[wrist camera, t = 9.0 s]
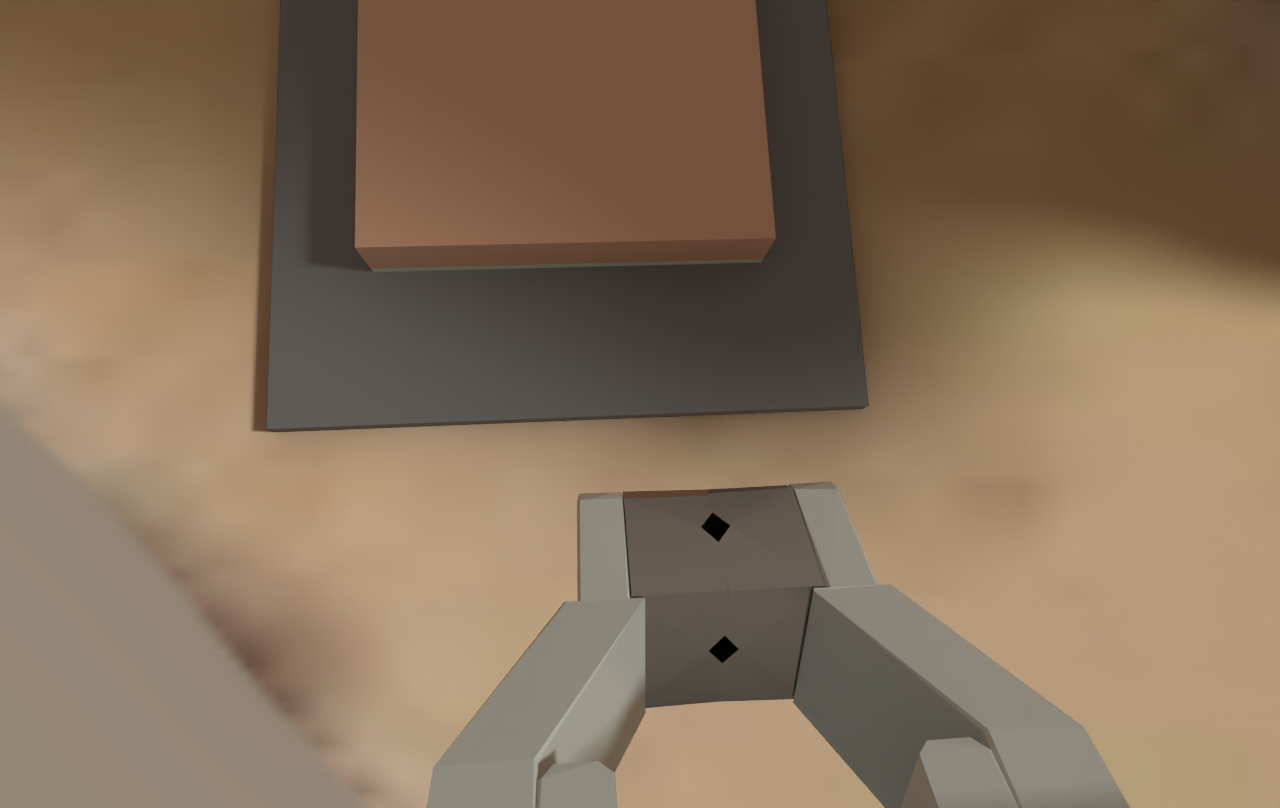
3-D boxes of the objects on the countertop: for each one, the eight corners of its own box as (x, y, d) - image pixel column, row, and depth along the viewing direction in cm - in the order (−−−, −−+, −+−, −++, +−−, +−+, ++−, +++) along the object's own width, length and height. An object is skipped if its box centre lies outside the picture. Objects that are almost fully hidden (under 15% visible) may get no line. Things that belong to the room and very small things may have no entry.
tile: (761, 262, 25) (733, -70, 27) (775, 238, 23) (745, -118, 26) (373, 272, 24) (376, -73, 27) (355, 247, 22) (359, -124, 25)
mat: (806, -137, 29) (810, -151, 28) (862, 408, 25) (868, 405, 25) (292, -144, 27) (285, -160, 27) (274, 432, 24) (266, 429, 23)
